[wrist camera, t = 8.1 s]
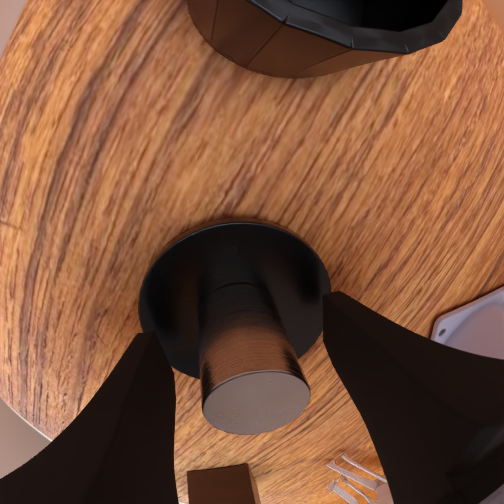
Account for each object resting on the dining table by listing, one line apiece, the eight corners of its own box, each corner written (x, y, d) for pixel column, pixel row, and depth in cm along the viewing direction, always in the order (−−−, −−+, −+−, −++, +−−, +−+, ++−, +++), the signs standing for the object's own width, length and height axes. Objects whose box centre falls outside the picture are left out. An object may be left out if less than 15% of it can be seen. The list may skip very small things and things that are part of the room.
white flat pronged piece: (325, 412, 26) (419, 476, 25) (324, 506, 15) (435, 545, 14) (340, 402, 25) (431, 468, 25) (345, 495, 14) (450, 536, 14)
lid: (323, 344, 13) (368, 432, 9) (173, 377, 13) (173, 474, 8) (316, 194, 10) (399, 255, 6) (117, 235, 10) (65, 326, 5)
